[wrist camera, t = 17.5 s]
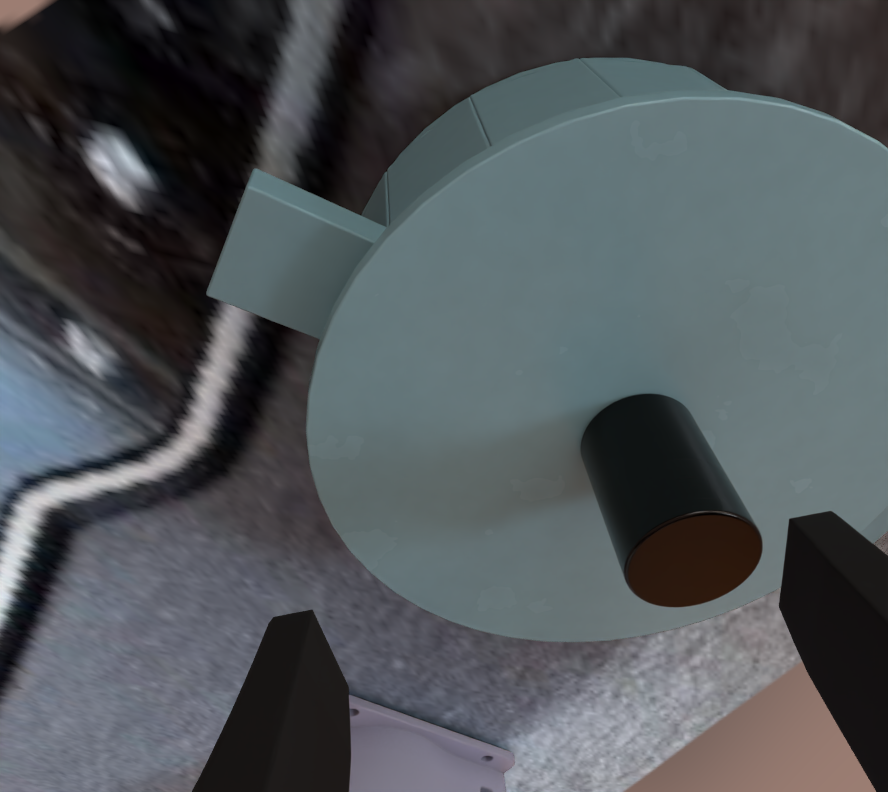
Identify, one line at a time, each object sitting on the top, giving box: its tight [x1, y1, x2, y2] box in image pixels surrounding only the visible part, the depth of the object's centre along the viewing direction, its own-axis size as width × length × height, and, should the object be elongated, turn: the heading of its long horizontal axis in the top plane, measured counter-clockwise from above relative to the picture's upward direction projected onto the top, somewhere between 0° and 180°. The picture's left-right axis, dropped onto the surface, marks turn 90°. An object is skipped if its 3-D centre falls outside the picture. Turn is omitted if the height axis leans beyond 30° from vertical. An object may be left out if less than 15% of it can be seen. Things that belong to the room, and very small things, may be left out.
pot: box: [206, 58, 888, 543], centre depth 18 cm, size 13×18×5 cm
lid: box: [306, 90, 888, 642], centre depth 14 cm, size 14×14×4 cm
